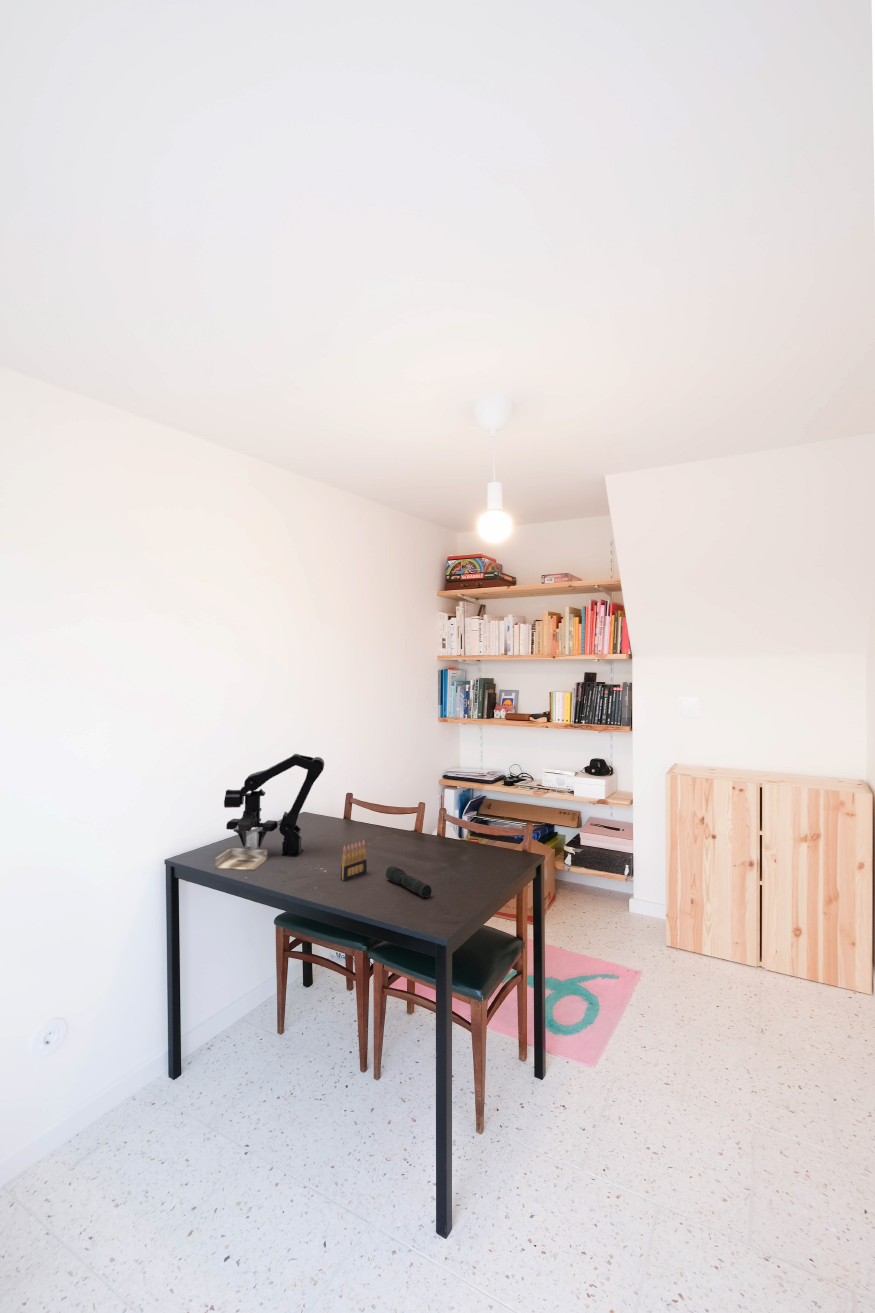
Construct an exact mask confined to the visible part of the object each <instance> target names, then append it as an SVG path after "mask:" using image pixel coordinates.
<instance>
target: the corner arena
mask: <svg viewBox="0 0 875 1313" xmlns="http://www.w3.org/2000/svg"><path fill="white" fill-rule="evenodd" d="M267 860H268V849H257V850H256V849H247V848H242V849H241V848H239V847H237V848H234V847H230V848H227V850H225V851H223V852H222V853H221V854H219V855H217V856H216V857H215V858H214V869H218V870H219V869H221V870H238V871H255V870H257V869H258V868H259V867H260V866H262V864H264V863H265V862H266V861H267Z"/></svg>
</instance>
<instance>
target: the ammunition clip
mask: <svg viewBox="0 0 875 1313" xmlns="http://www.w3.org/2000/svg"><path fill="white" fill-rule="evenodd" d="M366 854H367V850H366V842H365V840H364V839H363V840H362V842H361V841H359V842H358V843H357V842H355V844H354V843H352V844H351V845H350V844H348V845H347V847H346V845H343V850H342V858H341V859H342V860H341V865H340V881H342V882H346V880H347V881H350V880H352V879H355V878H358V877H361V876H362V875H363V876H364V875H366V874H367V872H368V871H367V867H368V866H367V865H368V864H367V858H366V856H367V855H366ZM360 875H361V876H360ZM357 876H358V877H357ZM354 877H355V878H354ZM351 878H352V879H351Z"/></svg>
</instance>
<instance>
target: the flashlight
mask: <svg viewBox="0 0 875 1313" xmlns="http://www.w3.org/2000/svg"><path fill="white" fill-rule="evenodd" d="M385 877H386V878H387V880H388V881H390V882H392V883H394V884H395V885H402V886H403V887H404V888H406V889H408V890H409V891H411V892H413V893H415V894H417V895H419V896H420V897H421V898H424V897H426V896H427V897H428V898H429V897H430V896H431V894H432V892H433V890H432V887H431V886H430V885H429V884H427V883H425V882H423V881H421V880H419V879H418V878H415V877H413V876H412V875H408V874H407V873H406V872H405V871H404V870H403V869H401V868H399V867H398V866H395V865H390V866H388V867H387V869H386V871H385ZM424 899H425V898H424Z"/></svg>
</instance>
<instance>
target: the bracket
mask: <svg viewBox="0 0 875 1313" xmlns="http://www.w3.org/2000/svg"><path fill="white" fill-rule="evenodd" d="M240 849H243V848H240ZM246 849H256V850H258V831H253V832H252V833H250V834H248V835H246Z"/></svg>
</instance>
